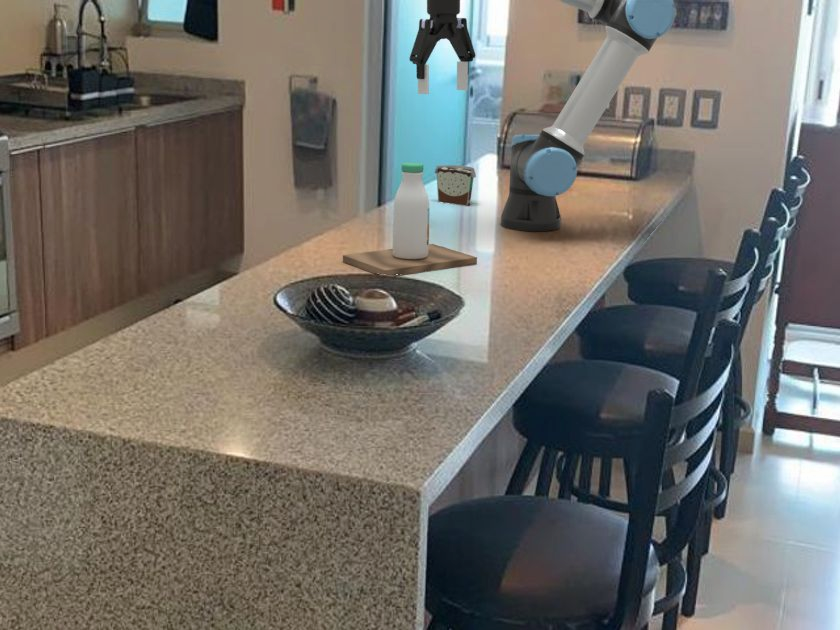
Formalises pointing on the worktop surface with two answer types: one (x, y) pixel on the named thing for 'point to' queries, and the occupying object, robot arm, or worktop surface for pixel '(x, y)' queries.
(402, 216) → the milk bottle
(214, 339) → the worktop surface
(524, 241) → the worktop surface
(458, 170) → the food container
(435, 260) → the board
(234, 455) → the worktop surface
